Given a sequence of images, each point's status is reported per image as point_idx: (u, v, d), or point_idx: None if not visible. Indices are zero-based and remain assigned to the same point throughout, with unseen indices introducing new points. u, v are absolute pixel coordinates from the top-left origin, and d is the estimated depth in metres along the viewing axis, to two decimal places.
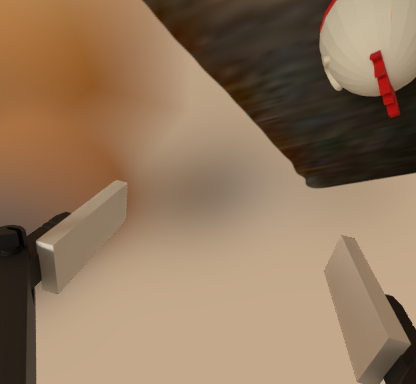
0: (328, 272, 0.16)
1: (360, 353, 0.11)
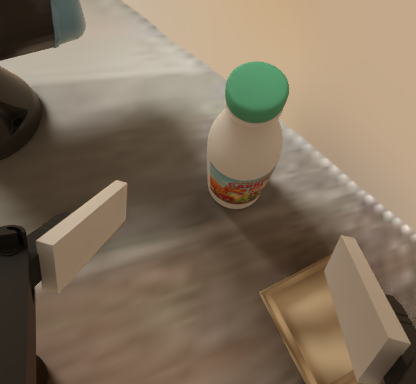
0: (328, 272, 0.16)
1: (360, 353, 0.11)
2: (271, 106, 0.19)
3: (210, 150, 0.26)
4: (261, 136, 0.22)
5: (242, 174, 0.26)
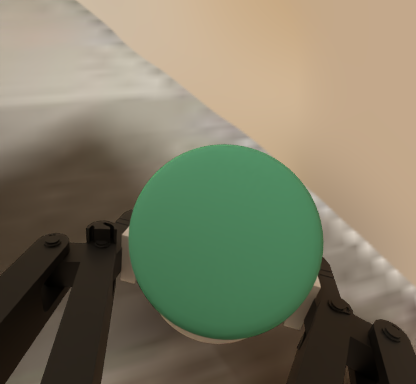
0: None
1: None
2: (266, 320, 0.05)
3: None
4: None
5: None
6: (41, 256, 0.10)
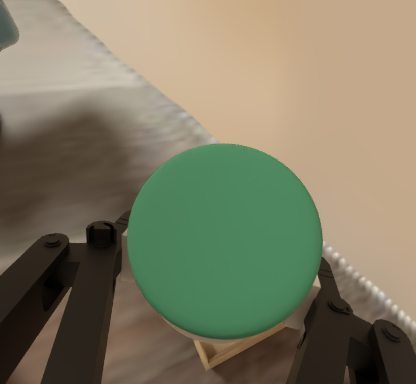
0: None
1: None
2: (265, 320, 0.05)
3: None
4: None
5: None
6: (41, 256, 0.10)
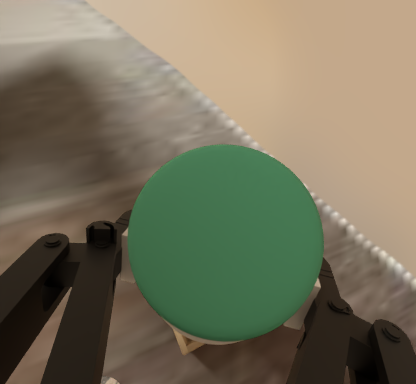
0: None
1: None
2: (266, 322, 0.05)
3: None
4: None
5: None
6: (41, 256, 0.10)
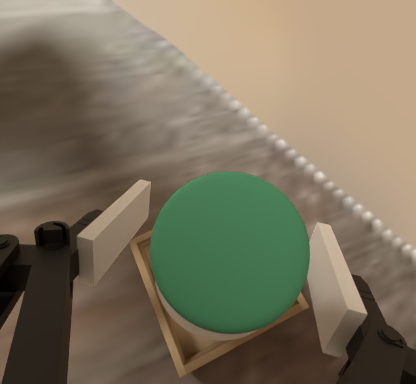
0: None
1: (326, 326, 0.12)
2: (262, 319, 0.07)
3: (156, 287, 0.14)
4: None
5: None
6: None
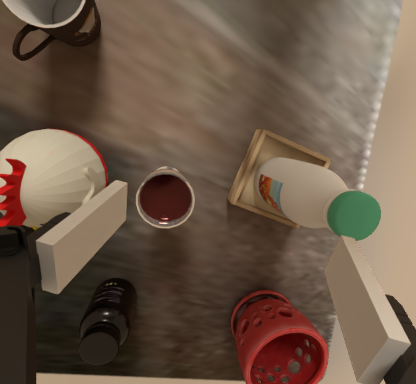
0: (328, 272, 0.16)
1: (360, 353, 0.11)
2: None
3: (290, 183, 0.31)
4: (324, 225, 0.28)
5: (289, 215, 0.32)
6: None
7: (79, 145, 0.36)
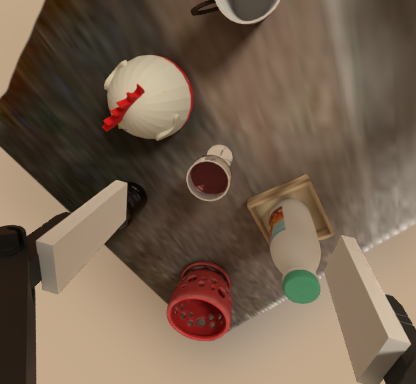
0: (328, 272, 0.16)
1: (360, 353, 0.11)
2: (286, 294, 0.35)
3: (288, 234, 0.40)
4: None
5: (271, 249, 0.42)
6: None
7: (184, 94, 0.44)
